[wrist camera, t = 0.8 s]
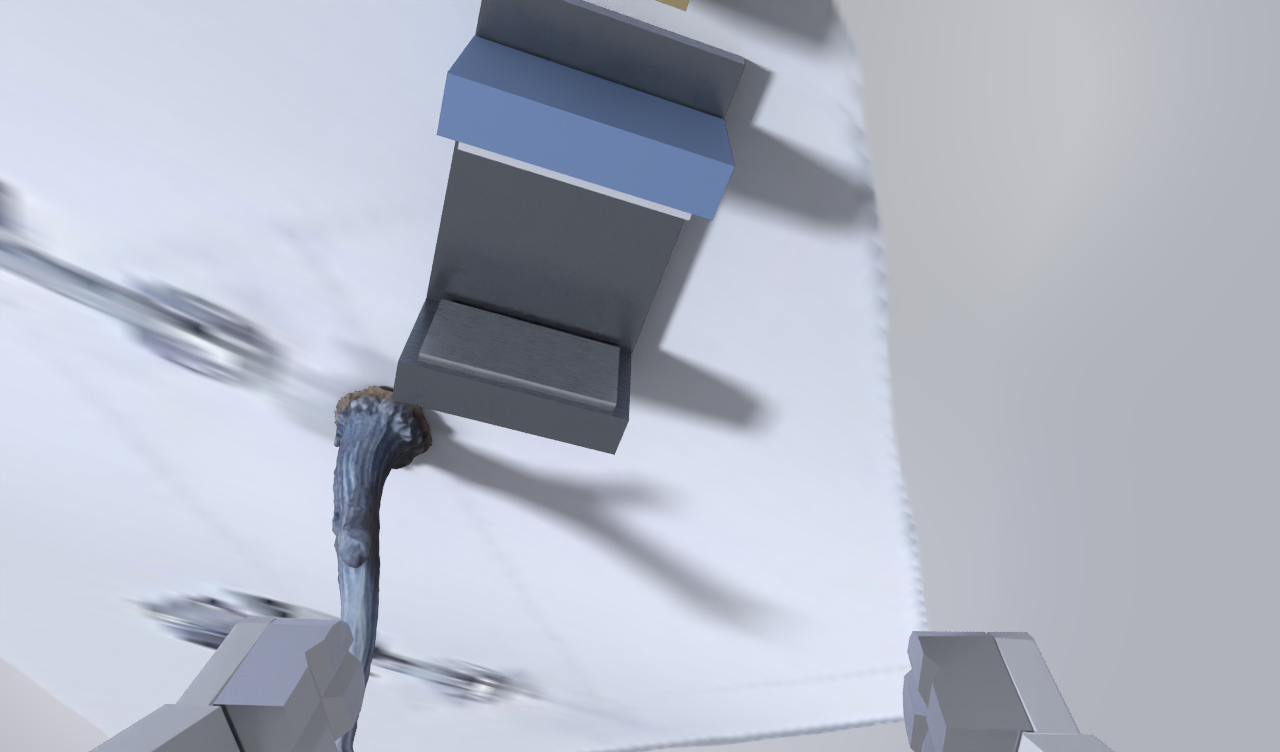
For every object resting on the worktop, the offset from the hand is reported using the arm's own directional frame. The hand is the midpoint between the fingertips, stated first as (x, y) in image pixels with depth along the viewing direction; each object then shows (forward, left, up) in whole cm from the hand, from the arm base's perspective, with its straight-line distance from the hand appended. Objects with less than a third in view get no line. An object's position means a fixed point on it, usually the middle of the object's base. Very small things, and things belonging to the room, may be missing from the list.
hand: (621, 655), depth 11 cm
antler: (+34, -8, -38) cm, 52 cm away
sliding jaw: (+5, -1, -36) cm, 37 cm away
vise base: (+11, -1, -38) cm, 40 cm away
